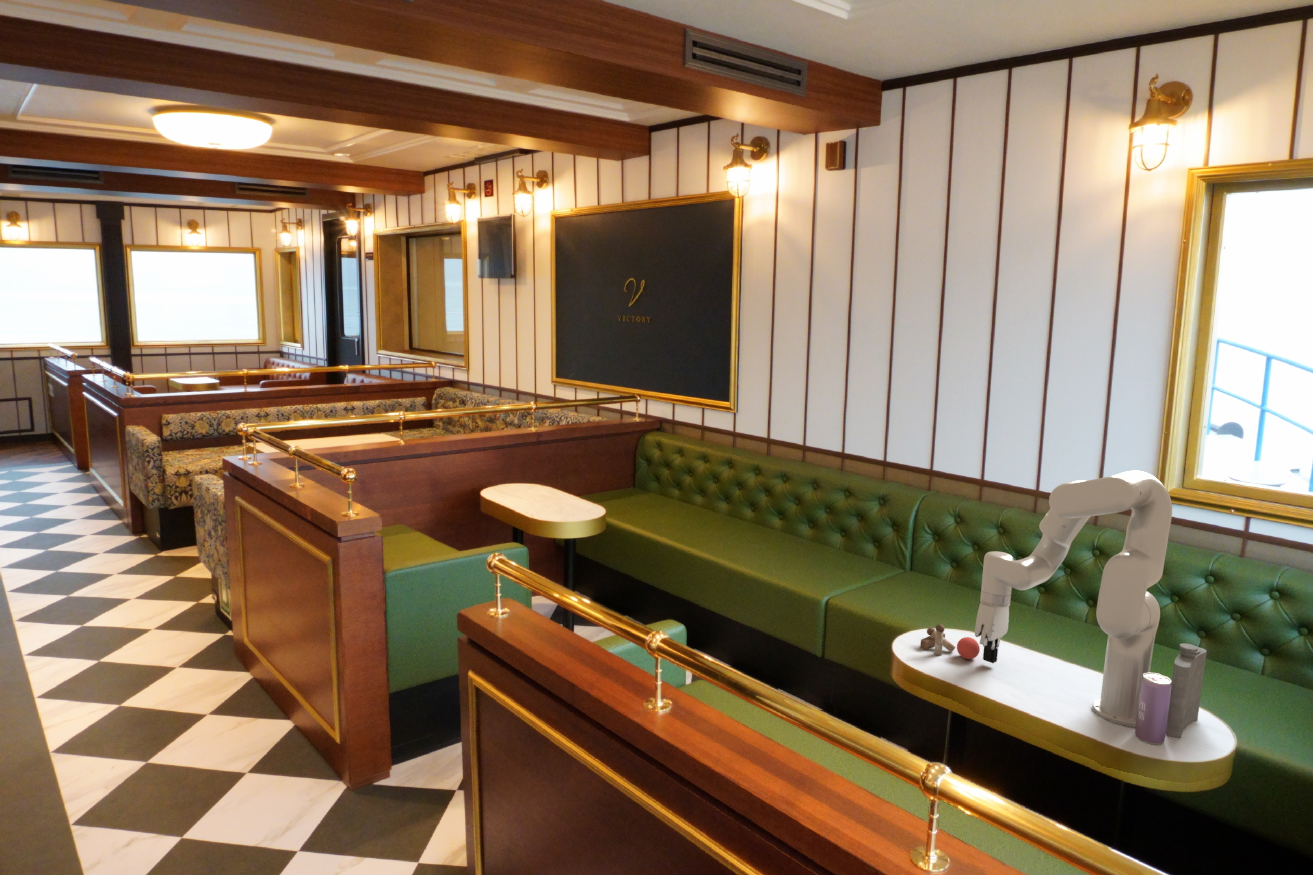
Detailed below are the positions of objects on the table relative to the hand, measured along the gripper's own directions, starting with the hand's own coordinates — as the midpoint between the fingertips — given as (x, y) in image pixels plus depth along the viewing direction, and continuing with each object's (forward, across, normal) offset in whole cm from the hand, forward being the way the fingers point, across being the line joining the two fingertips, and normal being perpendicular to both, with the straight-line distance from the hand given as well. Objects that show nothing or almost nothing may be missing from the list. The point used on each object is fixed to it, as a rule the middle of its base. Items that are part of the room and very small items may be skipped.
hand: (989, 660), depth 224 cm
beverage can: (+2, +7, +43) cm, 43 cm away
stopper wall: (+2, 0, -18) cm, 18 cm away
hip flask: (+2, -6, +45) cm, 45 cm away
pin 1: (+2, +4, -13) cm, 14 cm away
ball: (-2, 0, -6) cm, 7 cm away
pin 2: (+1, 0, -11) cm, 11 cm away
